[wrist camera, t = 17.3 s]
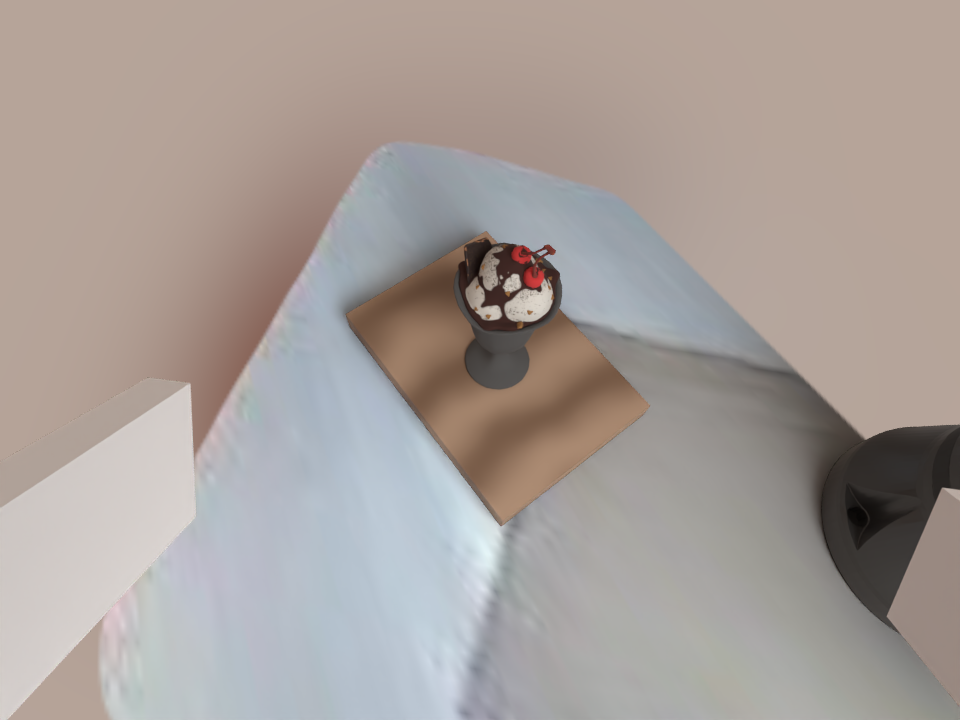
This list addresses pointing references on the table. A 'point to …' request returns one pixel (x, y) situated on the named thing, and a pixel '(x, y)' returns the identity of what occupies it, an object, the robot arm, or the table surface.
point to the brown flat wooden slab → (495, 390)
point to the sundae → (504, 307)
